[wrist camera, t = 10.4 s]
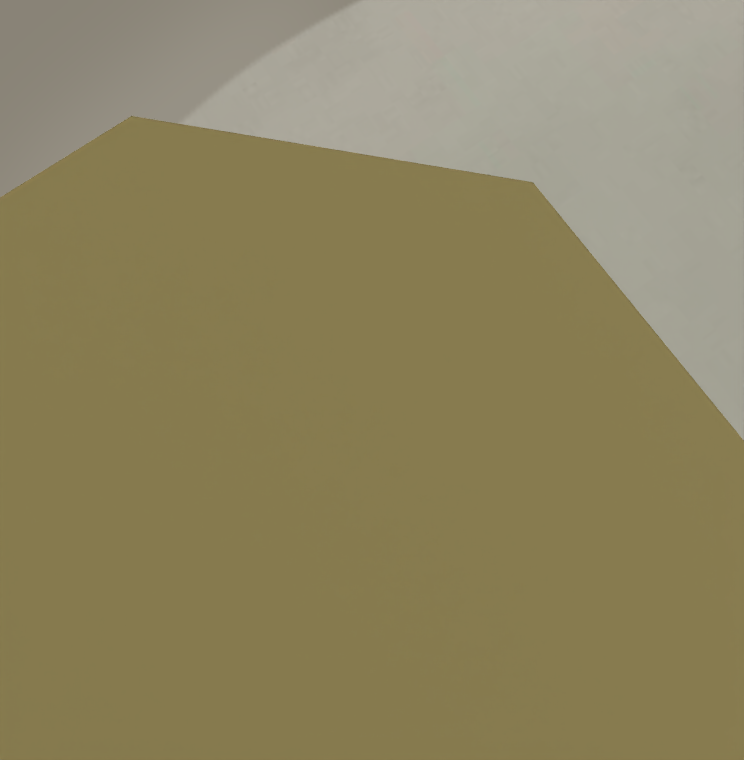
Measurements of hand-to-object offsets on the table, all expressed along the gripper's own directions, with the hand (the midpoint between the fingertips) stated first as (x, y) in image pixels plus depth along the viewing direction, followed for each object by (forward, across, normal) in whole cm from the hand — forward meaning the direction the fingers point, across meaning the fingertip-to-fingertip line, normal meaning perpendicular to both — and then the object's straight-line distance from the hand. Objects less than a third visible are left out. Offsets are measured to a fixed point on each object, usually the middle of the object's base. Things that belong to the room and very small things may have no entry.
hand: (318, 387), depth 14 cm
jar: (+2, 0, -6) cm, 7 cm away
